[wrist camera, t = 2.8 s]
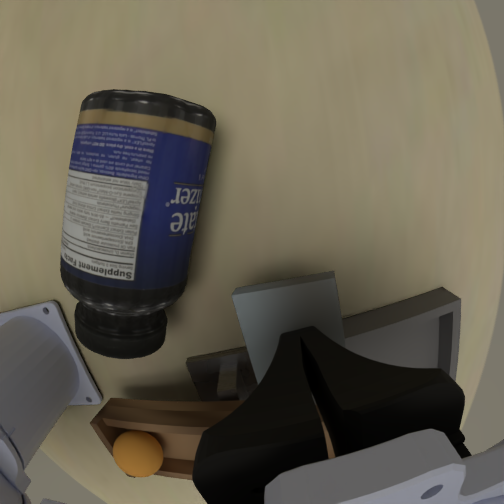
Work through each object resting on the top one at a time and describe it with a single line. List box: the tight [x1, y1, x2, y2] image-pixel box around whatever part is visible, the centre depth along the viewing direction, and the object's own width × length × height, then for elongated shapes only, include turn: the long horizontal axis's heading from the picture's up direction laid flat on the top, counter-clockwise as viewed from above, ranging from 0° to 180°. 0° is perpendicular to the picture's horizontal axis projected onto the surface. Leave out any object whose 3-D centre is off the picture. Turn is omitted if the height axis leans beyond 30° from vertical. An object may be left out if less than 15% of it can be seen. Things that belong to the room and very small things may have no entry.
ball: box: [113, 430, 163, 477], centre depth 15 cm, size 3×3×3 cm
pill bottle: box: [60, 89, 216, 359], centre depth 14 cm, size 6×6×11 cm
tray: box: [342, 287, 461, 381], centre depth 18 cm, size 8×8×2 cm
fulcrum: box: [186, 347, 258, 401], centre depth 17 cm, size 5×7×3 cm
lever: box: [90, 271, 346, 480], centre depth 14 cm, size 14×11×3 cm
